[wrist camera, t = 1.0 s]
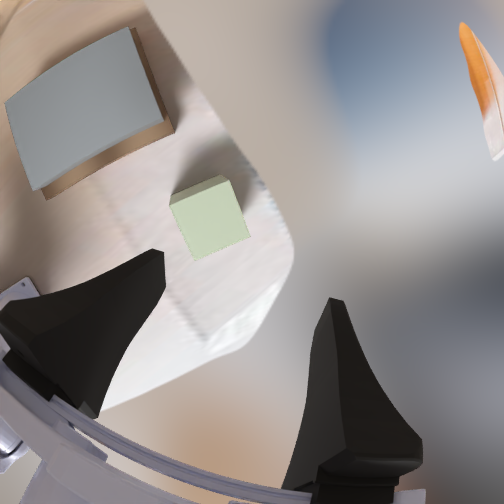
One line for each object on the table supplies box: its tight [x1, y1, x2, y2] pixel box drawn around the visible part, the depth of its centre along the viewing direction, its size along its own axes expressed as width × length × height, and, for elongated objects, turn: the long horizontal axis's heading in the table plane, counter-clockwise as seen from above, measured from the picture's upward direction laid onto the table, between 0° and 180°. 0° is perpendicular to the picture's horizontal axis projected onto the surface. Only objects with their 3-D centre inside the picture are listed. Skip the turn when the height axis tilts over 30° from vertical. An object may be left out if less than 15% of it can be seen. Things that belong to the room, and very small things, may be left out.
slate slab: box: [5, 27, 164, 191], centre depth 15 cm, size 11×8×2 cm
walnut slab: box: [41, 28, 175, 200], centre depth 18 cm, size 12×10×2 cm
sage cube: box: [169, 175, 251, 261], centre depth 22 cm, size 4×4×4 cm
